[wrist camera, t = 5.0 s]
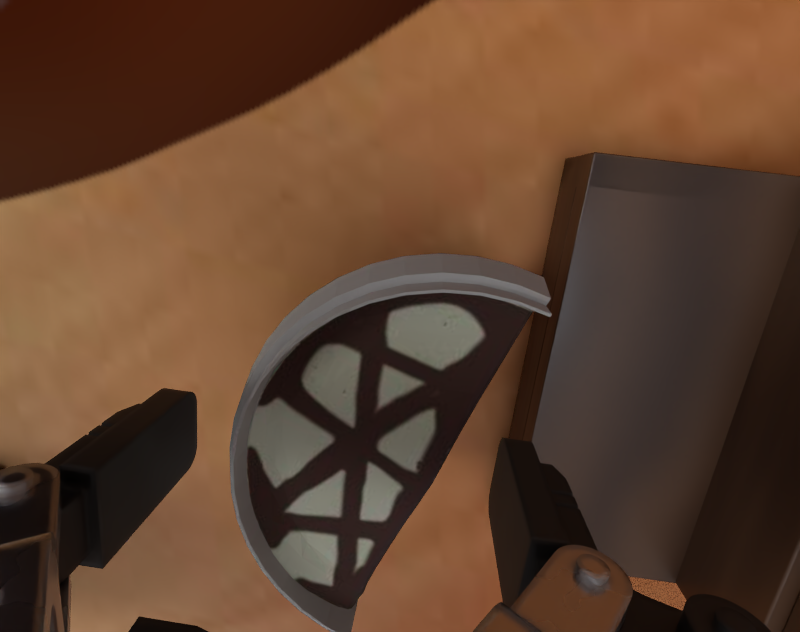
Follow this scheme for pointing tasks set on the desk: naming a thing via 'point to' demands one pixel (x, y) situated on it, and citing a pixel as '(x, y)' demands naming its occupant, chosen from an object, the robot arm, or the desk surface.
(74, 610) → the desk surface
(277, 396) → the food container
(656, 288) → the desk shelf
